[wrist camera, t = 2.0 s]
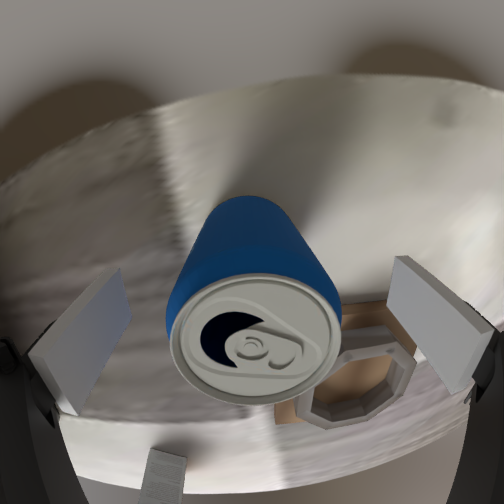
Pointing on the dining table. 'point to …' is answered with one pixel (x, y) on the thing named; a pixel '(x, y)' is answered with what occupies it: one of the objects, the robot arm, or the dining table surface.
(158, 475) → the small box
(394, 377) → the socket
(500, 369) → the robot arm
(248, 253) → the beverage can
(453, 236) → the dining table surface
